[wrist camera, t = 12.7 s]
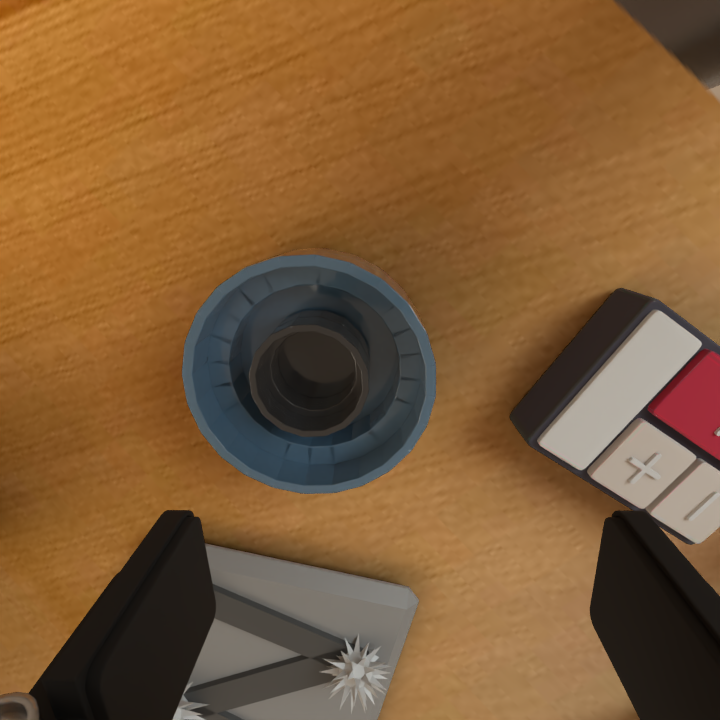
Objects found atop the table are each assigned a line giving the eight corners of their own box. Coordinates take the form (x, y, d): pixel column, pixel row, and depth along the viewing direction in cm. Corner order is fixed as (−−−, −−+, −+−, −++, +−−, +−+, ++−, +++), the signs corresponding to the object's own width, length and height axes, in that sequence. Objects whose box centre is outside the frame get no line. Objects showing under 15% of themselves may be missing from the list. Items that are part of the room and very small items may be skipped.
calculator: (700, 556, 29) (528, 449, 26) (658, 513, 33) (505, 417, 31) (840, 433, 26) (663, 298, 23) (776, 403, 30) (618, 284, 27)
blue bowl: (307, 198, 27) (290, 193, 22) (469, 350, 29) (490, 378, 24) (175, 361, 30) (133, 391, 25) (330, 483, 33) (322, 534, 28)
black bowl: (312, 286, 28) (301, 299, 24) (390, 356, 29) (393, 380, 25) (247, 361, 30) (225, 386, 25) (324, 424, 31) (315, 458, 26)
